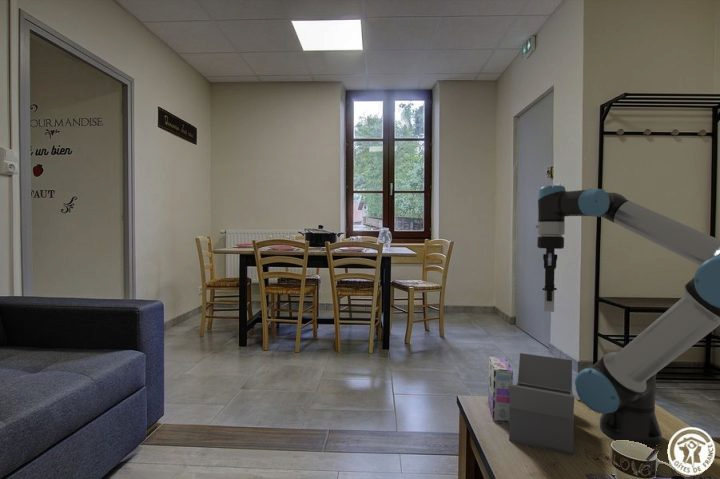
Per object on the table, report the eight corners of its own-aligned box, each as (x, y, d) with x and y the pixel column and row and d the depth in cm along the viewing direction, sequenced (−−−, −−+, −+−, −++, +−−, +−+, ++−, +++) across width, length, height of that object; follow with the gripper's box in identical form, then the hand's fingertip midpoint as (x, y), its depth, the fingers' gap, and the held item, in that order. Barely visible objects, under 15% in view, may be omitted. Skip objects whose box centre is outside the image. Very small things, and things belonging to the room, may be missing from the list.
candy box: (512, 423, 123) (513, 370, 122) (492, 421, 124) (493, 369, 124) (505, 404, 136) (506, 356, 136) (487, 402, 137) (488, 355, 137)
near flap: (574, 395, 100) (574, 397, 100) (573, 418, 105) (573, 420, 105) (508, 383, 107) (508, 385, 107) (510, 405, 112) (510, 407, 112)
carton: (571, 423, 123) (572, 391, 123) (573, 455, 105) (574, 418, 105) (516, 412, 131) (517, 381, 130) (509, 440, 113) (509, 405, 113)
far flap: (571, 391, 123) (571, 391, 124) (572, 360, 128) (572, 360, 128) (517, 382, 130) (517, 382, 131) (520, 353, 135) (520, 353, 135)
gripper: (538, 235, 132) (537, 306, 132) (536, 235, 120) (534, 313, 121) (564, 235, 128) (562, 308, 129) (564, 236, 117) (562, 316, 117)
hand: (549, 311), depth 125 cm, fingers closed
